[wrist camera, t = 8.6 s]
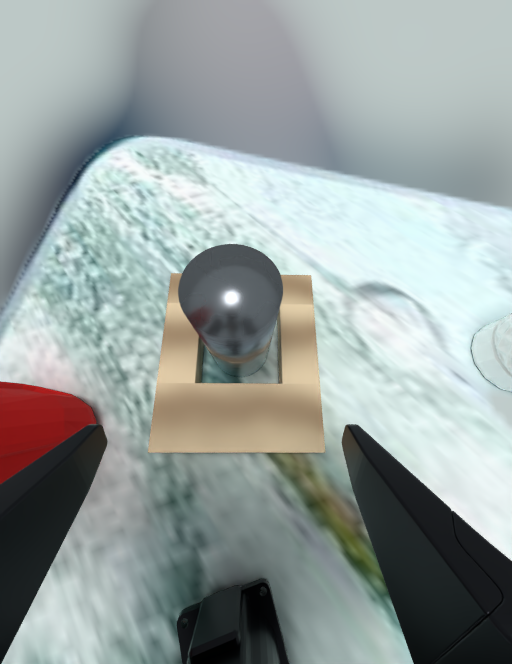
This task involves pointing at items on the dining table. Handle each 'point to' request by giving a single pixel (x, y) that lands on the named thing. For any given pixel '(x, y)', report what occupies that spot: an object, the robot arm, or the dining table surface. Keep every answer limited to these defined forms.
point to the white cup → (495, 352)
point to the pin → (232, 304)
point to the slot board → (240, 388)
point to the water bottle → (36, 423)
